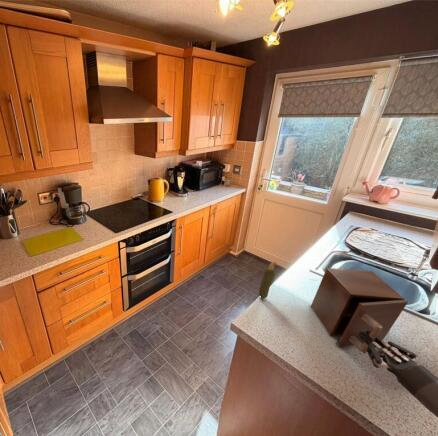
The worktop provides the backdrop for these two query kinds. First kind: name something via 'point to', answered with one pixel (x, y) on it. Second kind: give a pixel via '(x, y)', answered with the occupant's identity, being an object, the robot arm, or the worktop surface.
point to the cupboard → (348, 296)
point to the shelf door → (371, 322)
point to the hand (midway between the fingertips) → (363, 332)
